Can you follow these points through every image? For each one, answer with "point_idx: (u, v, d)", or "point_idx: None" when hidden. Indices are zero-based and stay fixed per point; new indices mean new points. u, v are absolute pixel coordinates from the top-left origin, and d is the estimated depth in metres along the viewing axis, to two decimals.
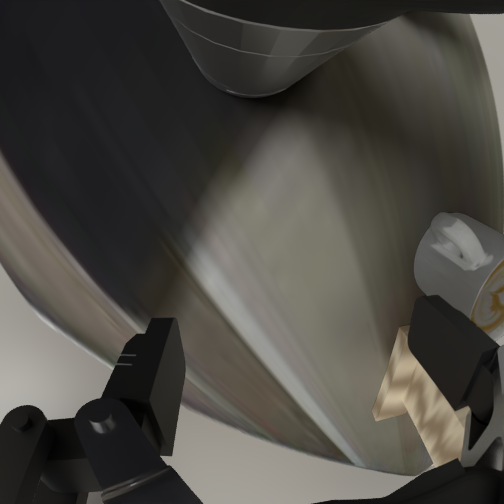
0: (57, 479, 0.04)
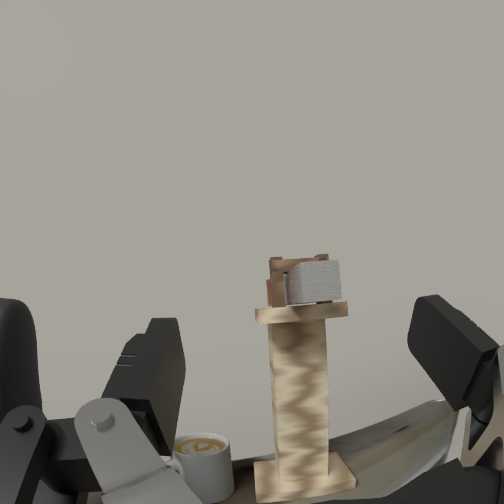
0: (57, 479, 0.04)
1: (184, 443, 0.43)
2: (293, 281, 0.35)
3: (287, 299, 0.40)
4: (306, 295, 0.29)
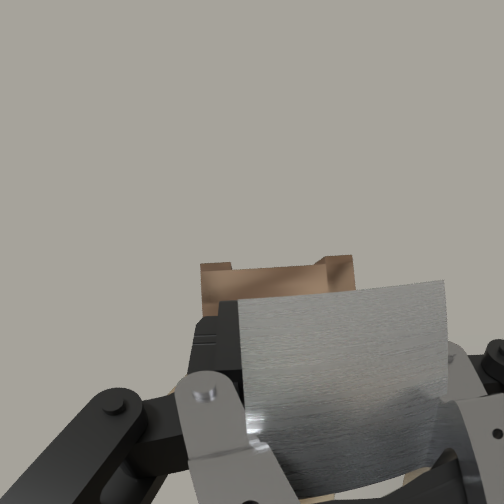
0: (136, 465, 0.05)
1: None
2: None
3: None
4: None
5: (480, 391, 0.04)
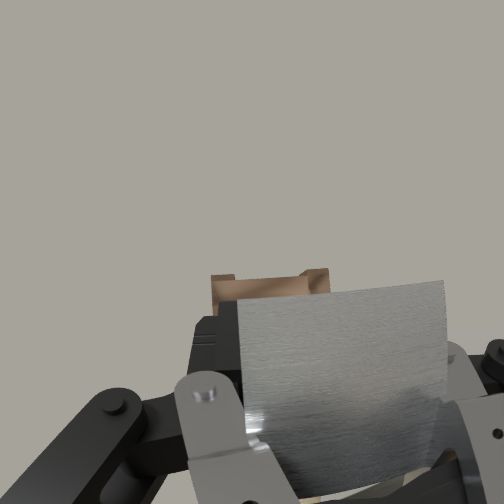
0: (136, 465, 0.05)
1: None
2: None
3: None
4: None
5: (480, 391, 0.04)
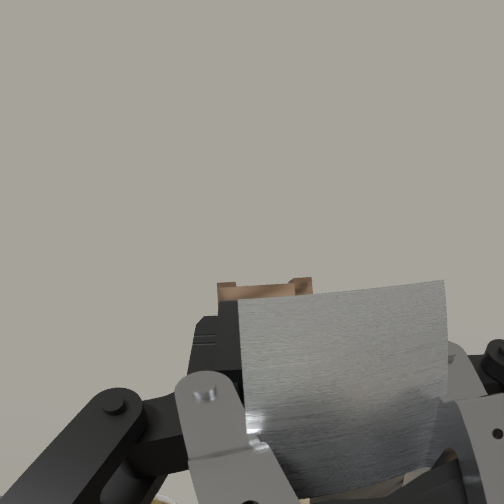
0: (136, 465, 0.05)
1: None
2: None
3: None
4: None
5: (480, 391, 0.04)
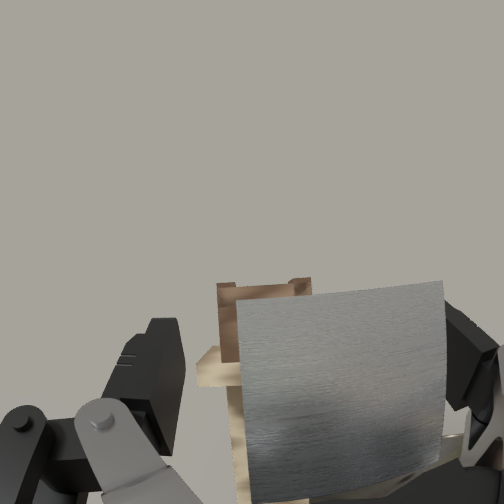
0: (57, 479, 0.04)
1: None
2: None
3: None
4: (271, 475, 0.04)
5: None
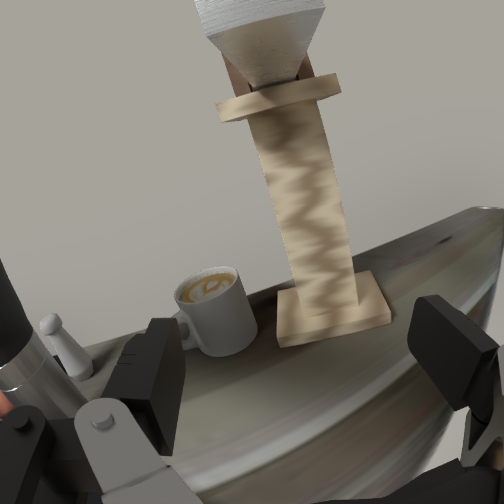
0: (57, 479, 0.04)
1: (193, 285, 0.47)
2: None
3: None
4: (212, 15, 0.08)
5: None
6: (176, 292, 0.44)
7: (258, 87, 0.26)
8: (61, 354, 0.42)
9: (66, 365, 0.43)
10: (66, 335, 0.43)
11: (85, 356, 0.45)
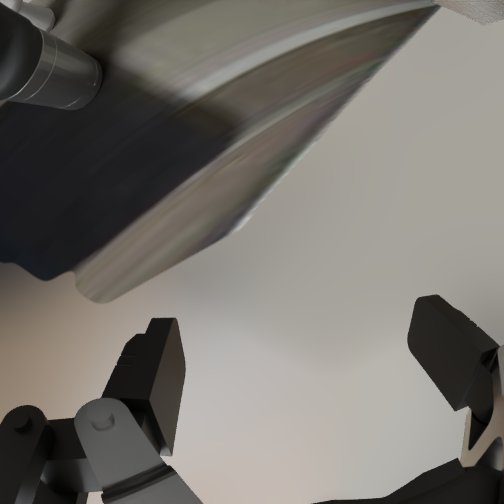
0: (57, 479, 0.04)
1: None
2: None
3: None
4: (445, 0, 0.08)
5: None
6: None
7: None
8: None
9: None
10: (28, 5, 0.23)
11: (48, 11, 0.28)
